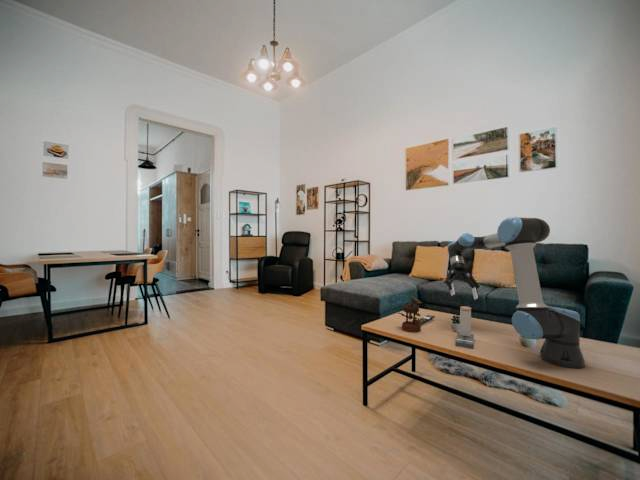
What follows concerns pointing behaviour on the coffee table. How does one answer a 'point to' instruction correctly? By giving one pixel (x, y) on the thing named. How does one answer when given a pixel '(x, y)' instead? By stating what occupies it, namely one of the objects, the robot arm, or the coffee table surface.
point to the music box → (410, 308)
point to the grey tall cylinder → (465, 321)
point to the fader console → (464, 341)
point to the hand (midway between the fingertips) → (464, 297)
